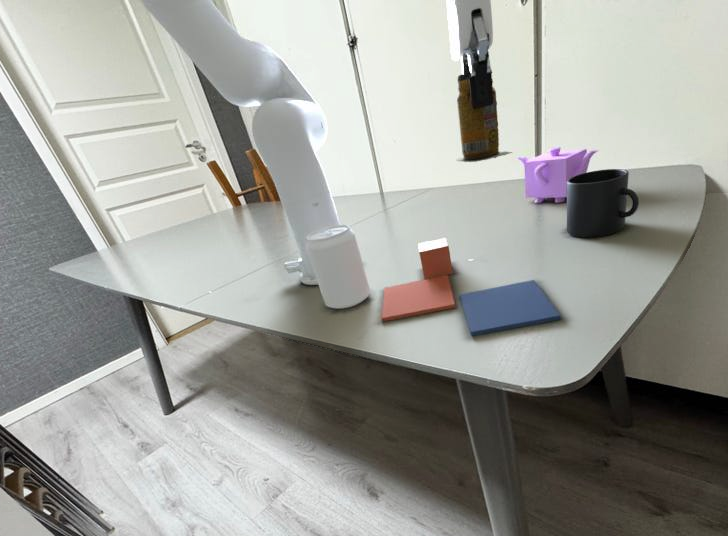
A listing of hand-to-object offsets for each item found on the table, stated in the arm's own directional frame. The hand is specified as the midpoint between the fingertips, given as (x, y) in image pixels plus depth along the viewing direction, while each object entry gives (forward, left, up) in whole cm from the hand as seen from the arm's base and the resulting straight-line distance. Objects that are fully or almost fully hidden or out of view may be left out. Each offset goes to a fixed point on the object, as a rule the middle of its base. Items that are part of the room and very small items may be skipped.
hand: (478, 105), depth 64 cm
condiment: (0, -1, -8) cm, 8 cm away
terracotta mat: (-15, -16, -23) cm, 32 cm away
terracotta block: (-11, -6, -23) cm, 27 cm away
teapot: (+20, +27, -24) cm, 41 cm away
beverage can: (-27, -11, -24) cm, 37 cm away
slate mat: (-3, -25, -23) cm, 34 cm away
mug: (+19, -2, -24) cm, 30 cm away
